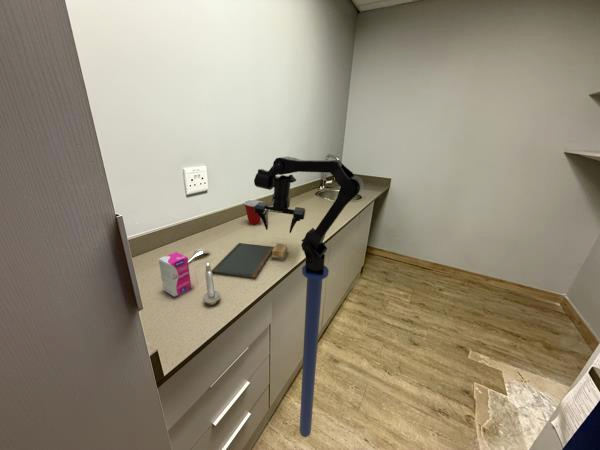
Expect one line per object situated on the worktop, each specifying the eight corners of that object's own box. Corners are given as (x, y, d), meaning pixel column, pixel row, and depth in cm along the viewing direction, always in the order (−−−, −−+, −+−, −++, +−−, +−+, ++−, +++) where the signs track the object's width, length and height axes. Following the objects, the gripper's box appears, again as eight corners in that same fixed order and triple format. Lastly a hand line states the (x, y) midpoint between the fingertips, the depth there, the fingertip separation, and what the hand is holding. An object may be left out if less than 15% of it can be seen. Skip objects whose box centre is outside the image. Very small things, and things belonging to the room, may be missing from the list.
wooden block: (287, 253, 101) (287, 244, 99) (283, 261, 94) (283, 251, 93) (276, 251, 101) (276, 243, 100) (272, 259, 95) (272, 250, 94)
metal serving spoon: (166, 268, 79) (156, 264, 81) (167, 278, 80) (157, 274, 82) (211, 248, 97) (202, 245, 98) (211, 256, 98) (202, 253, 99)
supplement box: (175, 298, 71) (169, 264, 67) (163, 291, 74) (157, 258, 70) (192, 288, 76) (187, 256, 72) (181, 282, 79) (175, 251, 75)
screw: (213, 309, 67) (199, 305, 69) (224, 299, 71) (211, 295, 73) (208, 268, 63) (193, 265, 64) (220, 260, 67) (206, 257, 68)
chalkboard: (274, 248, 104) (274, 246, 104) (255, 279, 82) (255, 276, 81) (239, 245, 106) (239, 242, 106) (211, 273, 84) (211, 271, 84)
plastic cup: (263, 227, 128) (262, 205, 124) (242, 226, 128) (241, 204, 124) (266, 220, 138) (265, 200, 134) (247, 219, 138) (246, 199, 134)
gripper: (308, 190, 95) (304, 226, 101) (262, 184, 96) (260, 220, 102) (306, 197, 85) (301, 238, 91) (254, 190, 86) (252, 230, 92)
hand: (278, 231), depth 94 cm, fingers open, 9 cm apart
